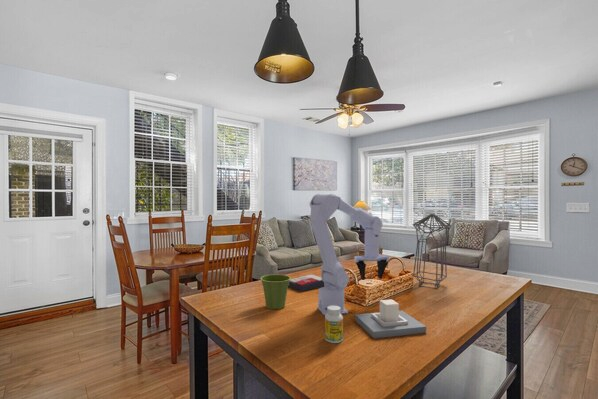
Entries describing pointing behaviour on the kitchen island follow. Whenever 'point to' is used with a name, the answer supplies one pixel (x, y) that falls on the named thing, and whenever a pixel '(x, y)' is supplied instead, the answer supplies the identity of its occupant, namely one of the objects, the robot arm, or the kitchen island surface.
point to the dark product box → (306, 283)
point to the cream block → (389, 310)
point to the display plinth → (389, 325)
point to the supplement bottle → (333, 324)
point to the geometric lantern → (431, 242)
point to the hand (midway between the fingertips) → (371, 278)
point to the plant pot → (275, 290)
